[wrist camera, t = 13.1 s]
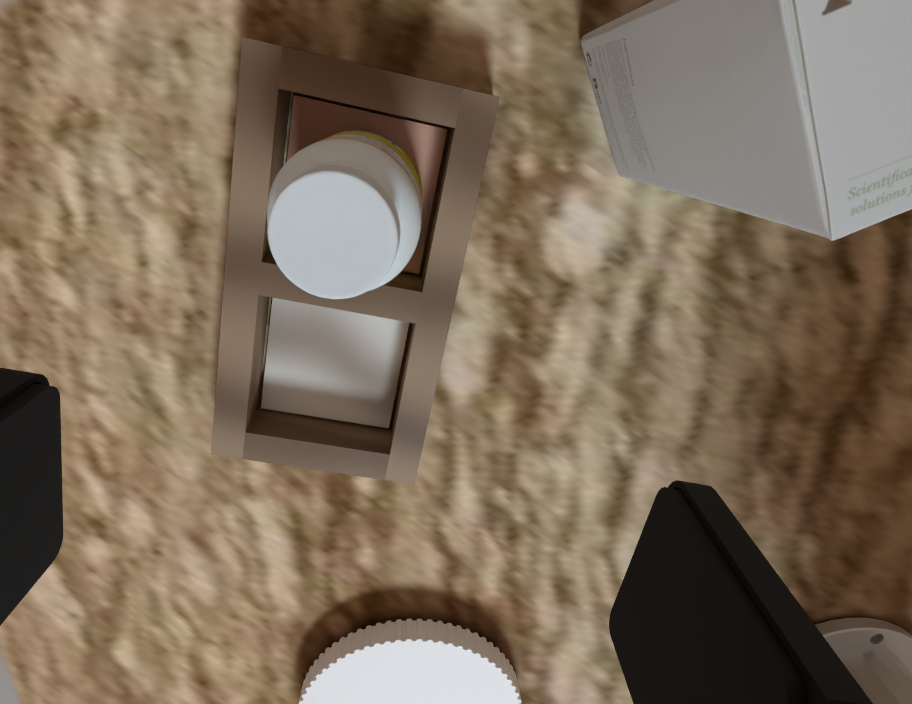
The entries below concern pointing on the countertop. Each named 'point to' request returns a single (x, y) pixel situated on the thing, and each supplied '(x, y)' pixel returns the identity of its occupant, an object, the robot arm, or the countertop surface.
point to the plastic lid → (411, 667)
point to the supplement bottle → (345, 214)
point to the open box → (352, 319)
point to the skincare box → (764, 105)
